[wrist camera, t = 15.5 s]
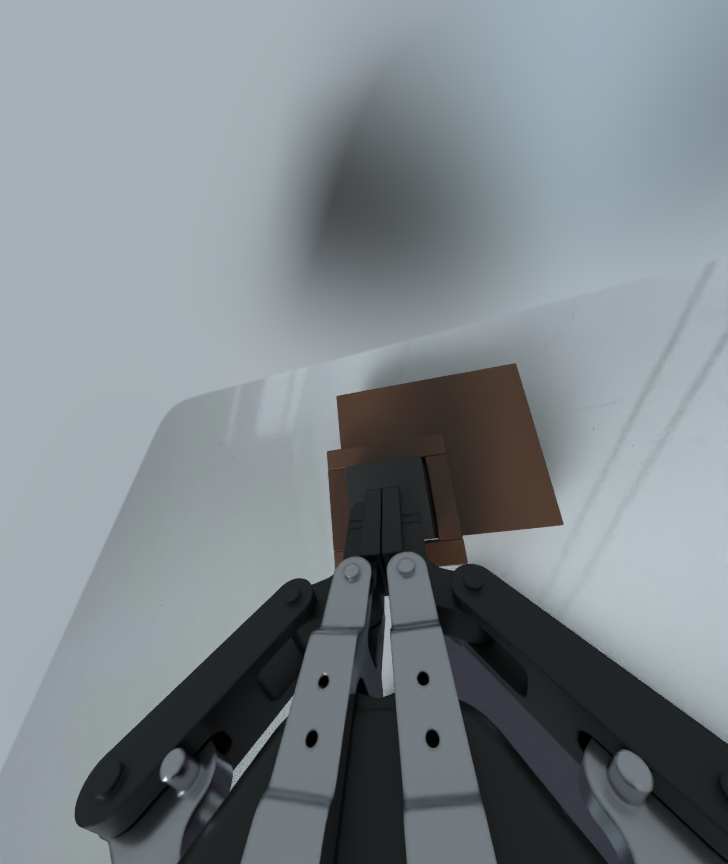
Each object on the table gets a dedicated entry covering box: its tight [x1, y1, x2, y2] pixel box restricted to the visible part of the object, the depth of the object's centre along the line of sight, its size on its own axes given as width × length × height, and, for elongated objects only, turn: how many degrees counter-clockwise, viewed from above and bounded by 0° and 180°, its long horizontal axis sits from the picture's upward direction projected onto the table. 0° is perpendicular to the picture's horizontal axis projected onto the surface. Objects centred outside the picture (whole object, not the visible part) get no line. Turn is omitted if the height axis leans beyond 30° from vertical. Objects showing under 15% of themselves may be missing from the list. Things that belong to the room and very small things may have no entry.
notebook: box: [443, 635, 620, 864], centre depth 15 cm, size 13×2×21 cm
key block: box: [327, 363, 563, 569], centre depth 20 cm, size 12×11×6 cm
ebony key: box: [345, 456, 434, 539], centre depth 16 cm, size 4×4×2 cm
